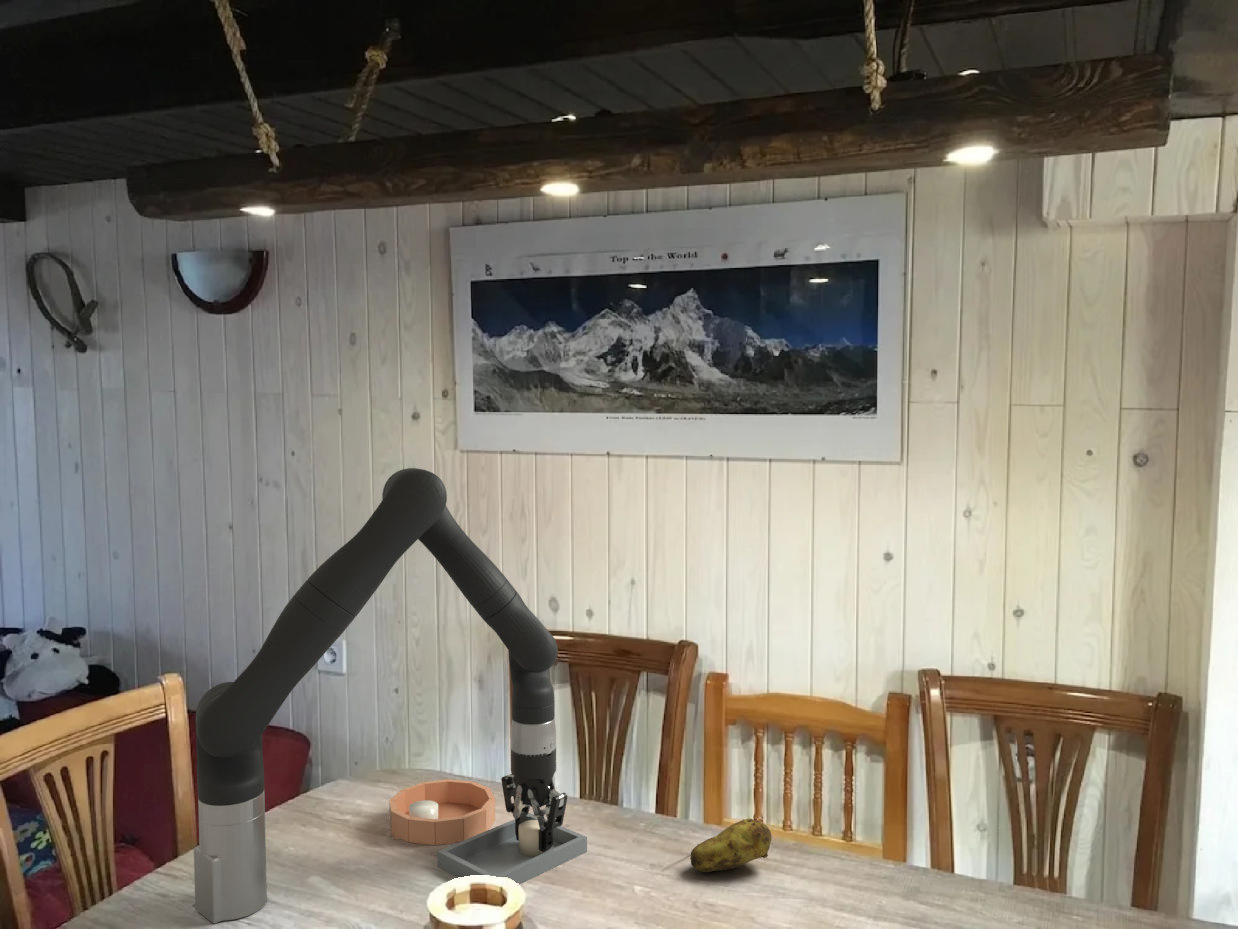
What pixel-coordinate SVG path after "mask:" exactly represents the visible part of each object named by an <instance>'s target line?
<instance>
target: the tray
mask: <svg viewBox="0 0 1238 929" xmlns="http://www.w3.org/2000/svg"><path fill="white" fill-rule="evenodd" d="M526 816H528V817H529V820H538V819H537V817H536V816H534V813H531V812H529V813H528V815H526ZM545 821H547V819H545ZM587 852H588V836H586V835H583V834H581V833H579V832H576V831H574V830H572V829H569V828H567V827H564V826H563V825H561V826H559V827H556V828H554V829H553V845H552V847H551V848H550V849H549V851H547V852H545V853H543V854H541V855H539V856H534V857H531V856H525V855H522V854H521V853H520V852H519V841H518V840H517V839H516V834H515V819H514V818H513V819H512V820H509V821H507V822H505V823H502V824H499V825H498V826H495V827H492V828H489V829H488V830H487V831H485V832H483V833H480V834H478V835H475V836H473V837H471V838H468V839H466V840H463V841H461V842H456V843H453V844H451V845H450V846H447V847H445V848H442V849H440V850H437V854H436V856H437V862H436V864H437V868H439V869H441V870H443V871H445V872H447V873H449V874H450V875H452V876H454V877H456V878H458V877H464V876H470V875H490V876H496V877H508V878H511V879H512V880H514V881H515V882H516V883H519V885H521V884H523V883H526V882H528V881H530V880H531V879H532V880H533V879H534V878H536V877H538V876H541V875H542V874H544V873H546V872H548V871H550V870H553V869H554V868H557V867H558V866H561V865H563V864H565V863H567V862H570V861H571V860H573V859H575V858H577V857H580V856H581V855H584V854H585V853H587Z"/></svg>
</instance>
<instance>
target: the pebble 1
mask: <svg viewBox="0 0 1238 929" xmlns="http://www.w3.org/2000/svg"><path fill="white" fill-rule="evenodd" d="M409 816H411V817H417V818H427V819H438V804H437V803H436V802H434V801H429V800H423V801H417V802H414V803H412V804H411V805H410V806H409Z"/></svg>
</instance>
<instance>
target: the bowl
mask: <svg viewBox="0 0 1238 929" xmlns="http://www.w3.org/2000/svg"><path fill="white" fill-rule="evenodd" d="M423 800H429V801H434V802H436V803H437V804H438V819H427V818H417V817H411V816H409V806H410V805H411V804H412V803H414V802H417V801H423ZM388 802H389V803H388V806H389V808H388V809H389V811H388V812H389V813H388V814H389V815H388V816H389V819H388V820H389V826H390V835H391V838H392V839H393V840H394V841H397V840H400V839H401V840H403V841H404V842H407V843H412V844H418V845H419V844H420V845H427V846H428V845H431V846H439V845H447V844H449V845H450V844H456V843H459V842H461V841H463V840H466V839H468V838H471V837H473V836H475V835H478V834H480V833H483V832H485V831H488V830H490V829H491V827H492V825H493V824H494V823H495V821H496V798H495V796H494V793H493V792H492V789H491V788H490V787H488V786H486V785H483V784H481V783H478V782H476V781H471V780H462V779H461V780H459V779H450V778H449V779H439V780H431V781H423V782H420V783H417V784H414V785H411V786H408V787H406V788H402V789H400V790H399V791H398V792H397V793H396V794H394V796H392V797H391V798H390V799H389V800H388Z"/></svg>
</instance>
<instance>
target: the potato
mask: <svg viewBox="0 0 1238 929" xmlns="http://www.w3.org/2000/svg"><path fill="white" fill-rule="evenodd" d="M771 843H772V832H771V830H770V828H769V827H768V826H767V825H766V824H765V823H763V822H761V821H759V820H756V819H753V818H745V819H742V820H739V821H737V822H735V823H733V824H731V825H729V826H728V827H726V828H725V829H723V830H722V831H721V832H720V833H718V834H717V835H715V836H713V837H710V838H707V839H706V840H704V841H701V842H700V843H699V844H697V845H696V846H695V847H693V849H691V852H690V864H691V865H690V866H692V867H693V868H694V869H695V870H696V871H698V872H701V873H711V872H714V871H717V872H718V871H729V870H733V869H735V868H739V867H742V866H743V865H745V864H747V863H749V862H752V861H754V860H757V859H761V858H764V859H766V858H767V857H768V856H769V855H768V853H769V850H770V847H771V846H770V845H771Z"/></svg>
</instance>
